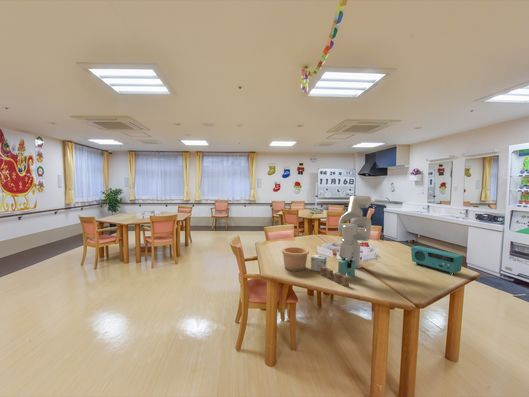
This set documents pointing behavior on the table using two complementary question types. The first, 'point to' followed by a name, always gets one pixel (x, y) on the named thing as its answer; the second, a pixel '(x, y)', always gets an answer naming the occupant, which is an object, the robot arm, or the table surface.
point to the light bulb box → (317, 262)
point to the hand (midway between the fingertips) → (346, 266)
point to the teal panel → (346, 268)
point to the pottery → (295, 258)
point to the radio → (437, 258)
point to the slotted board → (334, 276)
